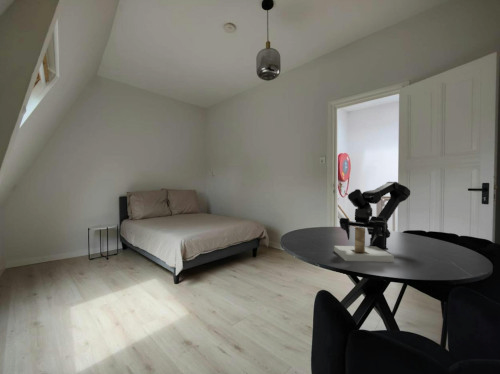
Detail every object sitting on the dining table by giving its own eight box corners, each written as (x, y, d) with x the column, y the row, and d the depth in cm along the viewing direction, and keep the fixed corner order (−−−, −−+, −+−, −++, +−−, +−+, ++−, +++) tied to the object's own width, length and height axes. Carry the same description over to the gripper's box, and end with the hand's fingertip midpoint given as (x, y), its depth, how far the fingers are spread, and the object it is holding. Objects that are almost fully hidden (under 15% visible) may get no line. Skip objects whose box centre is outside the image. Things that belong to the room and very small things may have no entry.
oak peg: (361, 255, 104) (362, 227, 104) (366, 258, 100) (366, 229, 100) (352, 255, 104) (353, 227, 104) (356, 258, 100) (357, 229, 100)
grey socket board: (375, 251, 111) (376, 246, 111) (393, 261, 97) (393, 255, 97) (334, 250, 111) (334, 245, 111) (345, 261, 97) (345, 255, 97)
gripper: (340, 200, 110) (334, 227, 101) (385, 203, 100) (383, 233, 91) (343, 215, 117) (338, 241, 108) (386, 218, 107) (384, 248, 98)
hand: (359, 240), depth 101 cm, fingers open, 9 cm apart
